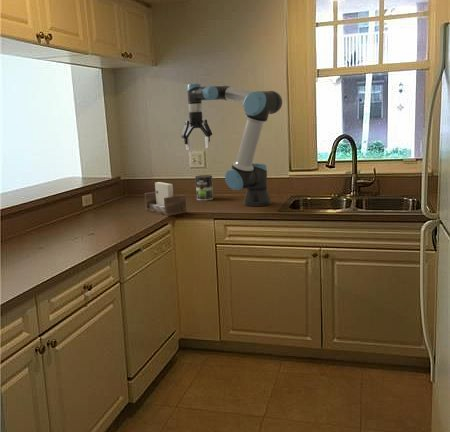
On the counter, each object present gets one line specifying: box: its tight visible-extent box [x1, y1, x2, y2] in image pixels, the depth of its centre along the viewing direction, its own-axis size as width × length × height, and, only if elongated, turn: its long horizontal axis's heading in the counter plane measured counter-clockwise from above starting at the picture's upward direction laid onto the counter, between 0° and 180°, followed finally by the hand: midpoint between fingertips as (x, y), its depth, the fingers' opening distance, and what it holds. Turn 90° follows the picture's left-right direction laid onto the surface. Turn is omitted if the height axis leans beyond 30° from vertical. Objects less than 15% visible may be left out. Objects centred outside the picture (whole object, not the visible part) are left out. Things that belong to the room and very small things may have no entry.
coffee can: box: [194, 174, 214, 201], centre depth 320 cm, size 10×10×14 cm
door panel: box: [154, 181, 174, 206], centre depth 288 cm, size 14×3×14 cm, turn 36°
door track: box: [143, 191, 187, 217], centre depth 289 cm, size 24×12×10 cm, turn 36°
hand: (197, 149), depth 304 cm, fingers open, 13 cm apart
